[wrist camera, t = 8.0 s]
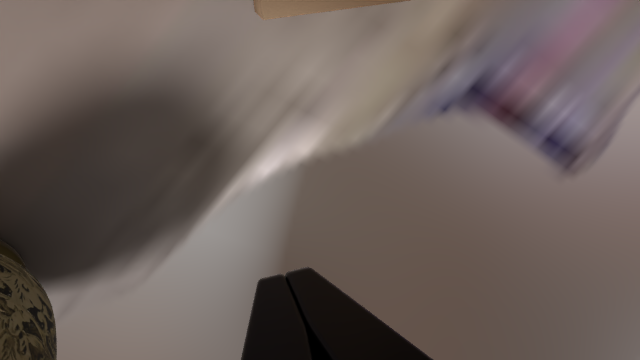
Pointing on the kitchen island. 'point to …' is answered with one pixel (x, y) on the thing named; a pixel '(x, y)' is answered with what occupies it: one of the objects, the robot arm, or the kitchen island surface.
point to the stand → (308, 6)
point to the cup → (23, 312)
